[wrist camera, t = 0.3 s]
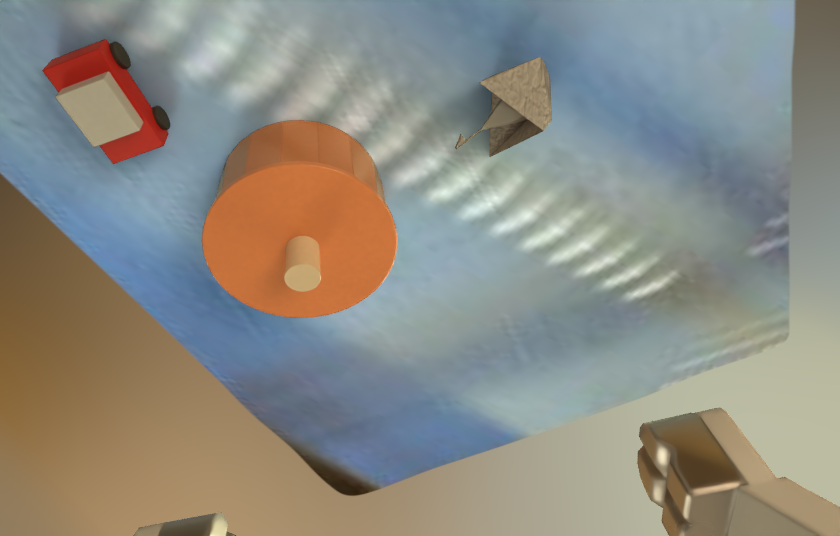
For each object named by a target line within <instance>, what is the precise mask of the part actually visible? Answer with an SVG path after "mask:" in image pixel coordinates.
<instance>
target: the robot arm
mask: <svg viewBox="0 0 840 536" xmlns="http://www.w3.org/2000/svg"><path fill="white" fill-rule="evenodd" d="M639 437H640V439H641V441H642V443H643V447H642V448H641V449H640V450H639V451H638V468H639V473H640V477H641V480H642V482H643V485H644V487H645V489H646V492H647V494H648V496H649V498H650V500H651V501H653V502H654V503H656V504H657V505H659V506H660V507H662V508H663V514H662V523H663V525H664V527H665V529H666V531H667V533H668V535H669V536H840V507H838V506H836V505H835V504H833V503H831V502H829V501H827V500H826V499H824V498H822V497H820V496H818V495H816V494H815V493H813V492H811V491H809V490H807V489H805V488H804V487H802V486H800V485H798V484H796V483H795V482H793V481H791V480H789V479H787V478H786V477H782V478H776V477H775V475H774V474H773V473H772V471H771V470H770V469H769V467H768V466H767V465H766V463H765V462H764V461H763V460H762V458H761V457H760V455H759V454H758V453H757V452H756V450H755V449H754V448H753V446H752V445H751V444H750V442H749V441H748V440H747V438H746V437H745V436H744V434H743V433H742V432H741V430H740V429H739V428H738V426H737V425H736V424H735V422H734V421H733V420H732V419H731V417H730V416H729V415H728V413H727V412H726V411H724V410H723V409H722V408H714V409H710V410H705V411H701V412H697V413H688V414H683V415H679V416H675V417H670V418H666V419H661V420H657V421H652V422H648V423H643V424H642V426H641V427H640V432H639ZM227 525H228V521H227V520H226V518H225V517H224V515H223V514H222V512H219V513H214V514H208V515H204V516H198V517H193V518H187V519H182V520H177V521H171V522H165V523H160V524H155V525H150V526H145V527H140V528H139V529H138V530H137V531H136V533H135V534H134V536H236V535H234V534H232V533H229V532H227Z"/></svg>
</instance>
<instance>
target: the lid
mask: <svg viewBox="0 0 840 536" xmlns="http://www.w3.org/2000/svg"><path fill="white" fill-rule="evenodd" d="M202 246H203V252H204V256H205V260H206V262H207V265H208V267H209V269H210V271H211V273H212V274H213V276H214V277H215V279H216V280H217V281H218V282H219V284H220V285H221V286H222V287H223V288H224V289H225V290H226V291H227V292H228V293H229V294H231V295H232V296H233V297H235V298H236V299H238V300H239V301H241V302H243V303H244V304H246V305H248V306H250V307H252V308H255V309H257V310H260V311H263V312H266V313H269V314H273V315H278V316H284V317H294V318H307V317H318V316H324V315H329V314H332V313H336V312H339V311H342V310H344V309H347V308H349V307H351V306H353V305H355V304H357V303H359V302H360V301H362V300H363V299H365V298H367V297H368V296H369V295H370V294H371V293H373V292H374V291H375V290H376V289H377V288H378V287H379V286H380V285H381V284H382V282H383V281H384V279H385V278H386V277H387V275H388V273H389V271H390V270H391V268H392V266H393V263H394V260H395V257H396V251H397V233H396V227H395V223H394V220H393V217H392V214H391V212H390V210H389V208H388V206H387V204H386V203H385V202H384V200H383V199H382V197H381V196H380V195H379V194H378V193H377V192H376V191H375V190H374V189H373V188H372V187H371V186H370V185H369V184H367V183H366V182H365V181H363V180H362V179H360V178H359V177H357V176H355V175H354V174H352V173H350V172H348V171H345V170H343V169H341V168H338V167H335V166H331V165H328V164H323V163H318V162H311V161H285V162H279V163H273V164H269V165H266V166H262V167H259V168H256V169H254V170H252V171H249V172H247V173H245V174H244V175H242V176H240V177H239V178H237V179H235V180H234V181H233V182H232V183H230V184H229V185H228V186H226V187H225V188H224V189H223V191H222V192H221V193H220V194H219V195H218V196H217V197H216V199H215V200H214V202H213V203H212V205H211V207H210V209H209V211H208V213H207V215H206V219H205V223H204V227H203V234H202Z"/></svg>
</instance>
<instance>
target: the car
mask: <svg viewBox="0 0 840 536" xmlns="http://www.w3.org/2000/svg"><path fill="white" fill-rule="evenodd" d="M130 65H131V63H130V59H129V56H128V54H127V52H126V51H125V49H124V48H123V47H122V45H121V44H119V43H118V42H113V43H111V44H109V43H108V41H107V40H106V39H104V40H102V41H99V42H97V43H94V44H91V45H89V46H86V47H84V48H81V49H78V50H76V51H73V52H70V53H68V54H65V55H63V56H60V57H57V58H55V59H52V60H51V61H50V62H49V63H48V65H47V66H46V67H45V68H44V69H43V70H42V71H43V72H44V74H45V75H46V76H47V77H48V79H49V80H50V81H51V83H52V84H53V85H54V87H55V88H56V89H57V91H58V92H59V93H58V94H57V96H56V99H57V100H58V101H59V103H60V104H61V105H62V106H63V108H64V109H65V110H66V112H67V113H68V114H69V116H70V117H71V118H72V119H73V121H74V122H75V123H76V125H77V126H78V127H79V129H80V130H81V131H82V132H83V134H84V135H85V136H86V138H87V139H88V140H89V142H90V143H91V144H92V145H93V147H96V146H100V147H101V148H102V150H103V151H104V152H105V154H106V155H107V156H108V158H109V159H110V160H111V162H112V163H113V164H115V163H118V162H120V161H123V160H126V159H128V158H131V157H134V156H137V155H139V154H142V153H145V152H148V151H150V150H153V149H156V148H159V147H161V146H164V144H165V142H166V139H167V136H168V132H167V129H169V128H170V121H169V118H168V116H167V114H166V112H165V111H164V110H163V109H162V108H161V107H160V106H155V107H153V108H151V106H150V105H149V103H148V102H147V100H146V99H145V97H144V96H143V94H142V92H141V91H140V89H139V88H138V86H137V85H136V83H135V82H134V80H133V79H132V77H131V76H130V74H129V73H128V71H127V70H126V69H127V68H129V67H130Z"/></svg>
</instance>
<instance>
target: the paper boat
mask: <svg viewBox="0 0 840 536" xmlns="http://www.w3.org/2000/svg"><path fill="white" fill-rule="evenodd" d="M480 83H481V84H482V85H484V86H485V87H486V88H487V89H489V90H490V91H491V92H492V98H491V114H490V116H489V117H488V119H487V121H486V122H485V124H484V125H483V127H482V129H480V130H479V131H477V132H476V133H475V134H473V135H472V136H471V137H469V138H468V139H467V140H466V139H465V138H464V137H463V136H462V135H461V134H460V137H459V139H458V142H457V145H456V147H455V148H456V149H457V148H459V147H460V146H461V145H463V144H464V143H465V142H467V141H468V140H469V139H471V138H472V137H473V136H475V135H476V134H477V133H479V132H480V131H481V130H485V129H490V157H491V156H493V155H495V154H497V153H499V152H501V151H503V150H505V149H508V148H510V147H512V146H514V145H516V144H518V143H520V142H522V141H524V140H526V139H528V138H530V137H532V136H534V135H536V134H538V133H540V132H542V131H544V130H545V128H546V127H547V126H548V124H549V123H550V121H551V120H552V118H551V92H550V77H549V74H548V71H547V68H546V65H545V63H544V62H543V60H542V59H541V58H540V57H538V58H536V59H533V60H531V61H528V62H526V63H523V64H521V65H518V66H516V67H513V68H511V69H508V70H506V71H503V72H501V73H498V74H496V75H493V76H491V77H489V78H487V79H485V80H483V81H482V82H480Z"/></svg>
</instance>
